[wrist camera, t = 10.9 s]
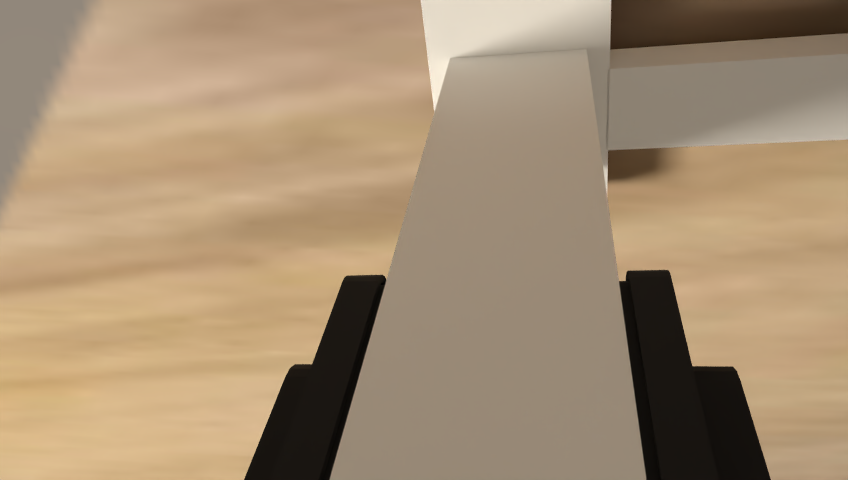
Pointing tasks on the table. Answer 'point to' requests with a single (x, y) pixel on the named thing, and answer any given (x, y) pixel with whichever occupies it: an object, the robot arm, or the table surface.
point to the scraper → (545, 234)
